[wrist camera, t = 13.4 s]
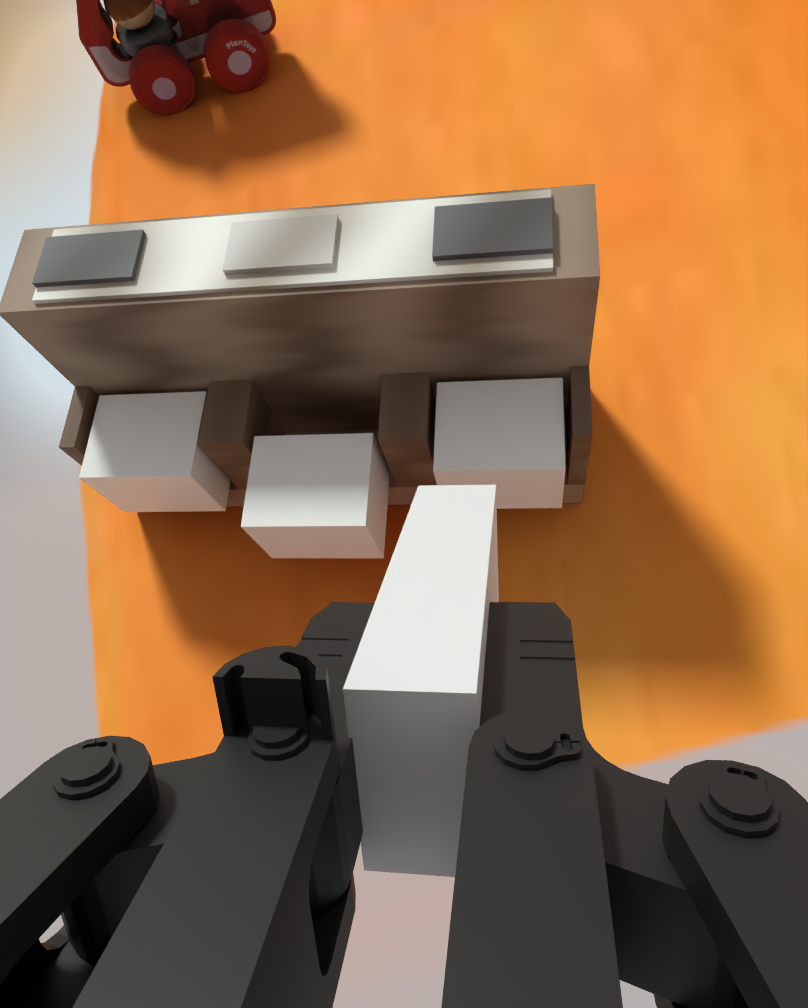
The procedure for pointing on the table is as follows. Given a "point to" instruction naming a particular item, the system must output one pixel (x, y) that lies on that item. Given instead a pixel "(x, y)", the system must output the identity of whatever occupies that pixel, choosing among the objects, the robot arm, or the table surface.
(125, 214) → the table surface
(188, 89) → the red wheeled toy
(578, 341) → the console
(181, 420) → the left button
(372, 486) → the middle button
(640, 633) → the table surface
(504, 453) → the right button
